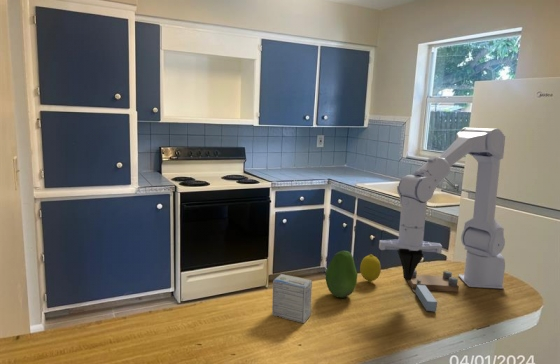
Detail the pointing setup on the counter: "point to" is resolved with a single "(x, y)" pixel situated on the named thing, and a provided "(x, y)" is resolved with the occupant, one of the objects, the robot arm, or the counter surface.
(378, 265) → the lemon
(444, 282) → the board
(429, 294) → the hinged leg
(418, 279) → the pivot pin
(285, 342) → the counter surface
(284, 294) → the medicine box
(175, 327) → the counter surface
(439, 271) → the counter surface
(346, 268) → the avocado
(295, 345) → the counter surface
